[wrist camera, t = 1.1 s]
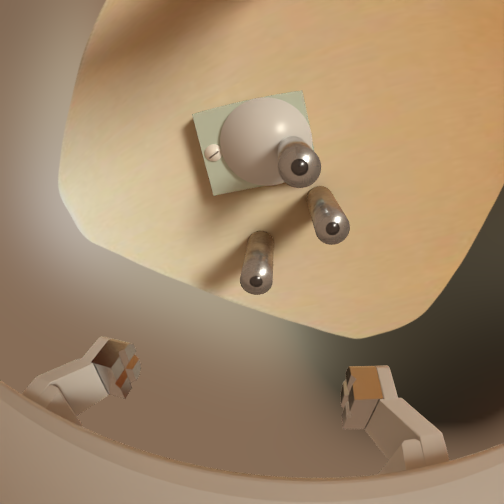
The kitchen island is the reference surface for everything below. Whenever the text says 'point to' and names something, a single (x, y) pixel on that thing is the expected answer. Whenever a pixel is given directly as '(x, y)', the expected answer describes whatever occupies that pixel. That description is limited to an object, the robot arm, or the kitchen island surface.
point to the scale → (249, 139)
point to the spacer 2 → (297, 162)
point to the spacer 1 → (258, 264)
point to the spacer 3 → (327, 216)
